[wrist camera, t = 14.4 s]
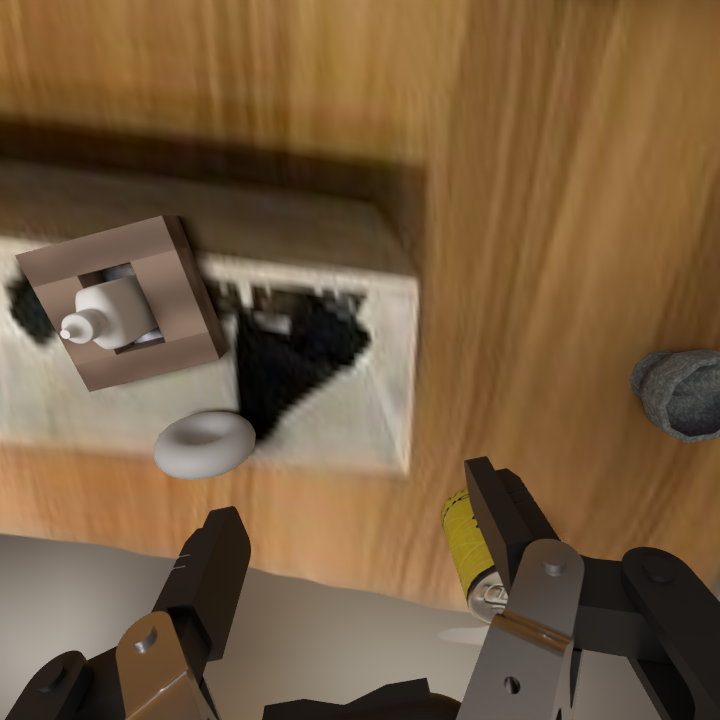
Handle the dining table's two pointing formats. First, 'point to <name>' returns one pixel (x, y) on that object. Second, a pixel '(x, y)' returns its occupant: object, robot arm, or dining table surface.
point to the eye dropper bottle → (110, 314)
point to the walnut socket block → (161, 288)
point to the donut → (204, 445)
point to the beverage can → (472, 559)
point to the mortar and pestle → (681, 392)
